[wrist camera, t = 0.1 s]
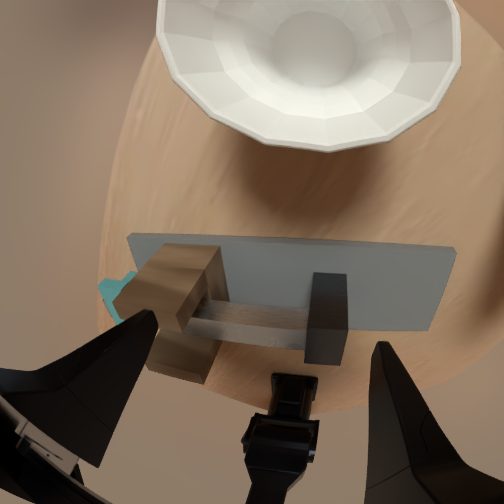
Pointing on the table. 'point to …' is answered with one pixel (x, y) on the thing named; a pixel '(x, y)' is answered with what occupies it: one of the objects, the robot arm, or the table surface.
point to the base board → (326, 261)
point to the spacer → (114, 292)
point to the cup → (313, 66)
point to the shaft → (282, 322)
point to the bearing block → (177, 306)
